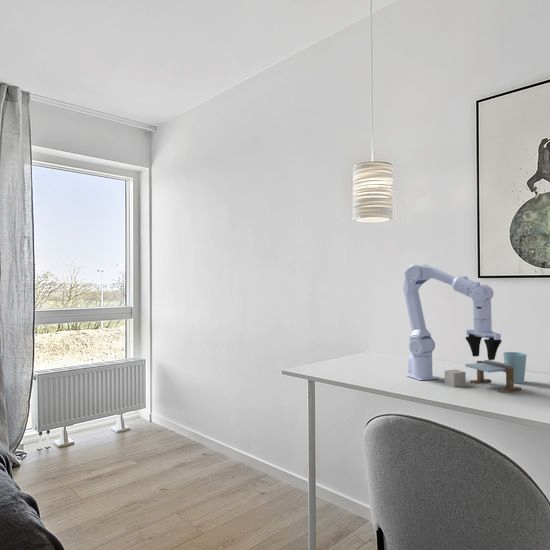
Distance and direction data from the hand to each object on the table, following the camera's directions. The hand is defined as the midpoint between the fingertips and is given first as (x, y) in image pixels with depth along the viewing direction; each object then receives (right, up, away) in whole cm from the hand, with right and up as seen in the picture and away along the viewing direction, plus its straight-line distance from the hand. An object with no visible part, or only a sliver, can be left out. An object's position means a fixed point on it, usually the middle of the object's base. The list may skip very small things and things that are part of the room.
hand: (483, 357), depth 160 cm
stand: (+5, -10, +1) cm, 11 cm away
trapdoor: (+2, -5, +1) cm, 5 cm away
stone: (-8, -11, +5) cm, 14 cm away
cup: (+15, -10, +7) cm, 20 cm away
